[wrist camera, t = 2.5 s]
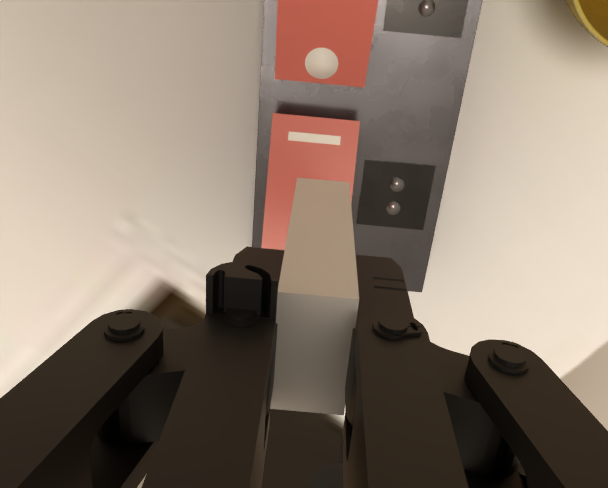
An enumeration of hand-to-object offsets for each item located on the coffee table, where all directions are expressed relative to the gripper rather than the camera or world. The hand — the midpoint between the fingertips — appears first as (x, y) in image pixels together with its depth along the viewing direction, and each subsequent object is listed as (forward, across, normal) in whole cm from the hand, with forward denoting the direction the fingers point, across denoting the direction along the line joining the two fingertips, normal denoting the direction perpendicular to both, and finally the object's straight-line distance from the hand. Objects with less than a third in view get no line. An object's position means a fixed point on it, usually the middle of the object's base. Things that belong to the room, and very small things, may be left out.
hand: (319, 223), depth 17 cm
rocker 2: (+17, -1, -6) cm, 19 cm away
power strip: (+23, +2, 0) cm, 23 cm away
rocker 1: (+17, 0, +7) cm, 18 cm away
